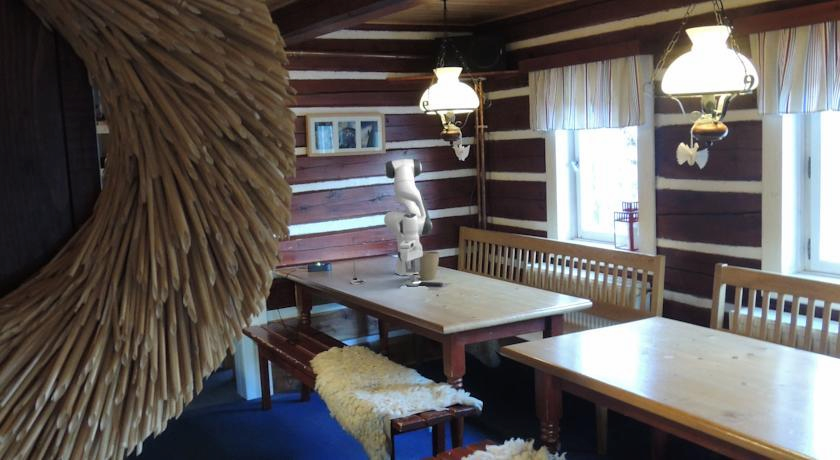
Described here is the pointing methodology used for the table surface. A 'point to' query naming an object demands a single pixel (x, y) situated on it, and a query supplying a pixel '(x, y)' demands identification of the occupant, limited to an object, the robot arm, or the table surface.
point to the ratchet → (415, 283)
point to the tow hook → (354, 271)
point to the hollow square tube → (413, 266)
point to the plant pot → (428, 265)
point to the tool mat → (439, 287)
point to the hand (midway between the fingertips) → (412, 267)
